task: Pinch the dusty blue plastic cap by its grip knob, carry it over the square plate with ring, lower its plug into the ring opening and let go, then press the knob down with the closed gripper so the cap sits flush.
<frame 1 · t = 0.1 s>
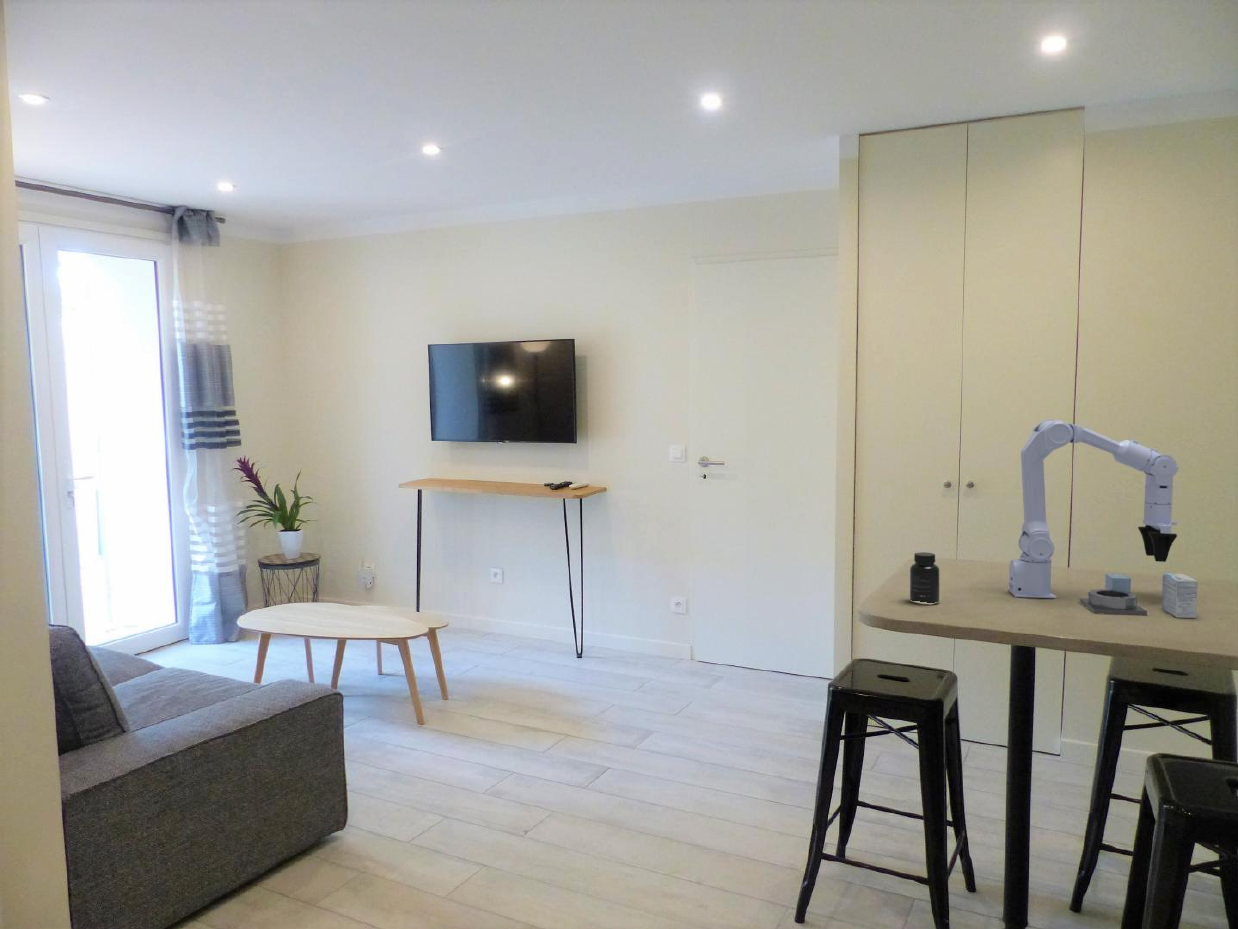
hand: (1155, 558, 213), 10 cm above the table, tool pointing down, fingers open, 7 cm apart
blue cap: (1117, 600, 213), on the table
square plate with ring: (1112, 608, 205), on the table
supplement bottle: (924, 603, 213), on the table
medicine box: (1178, 615, 199), on the table
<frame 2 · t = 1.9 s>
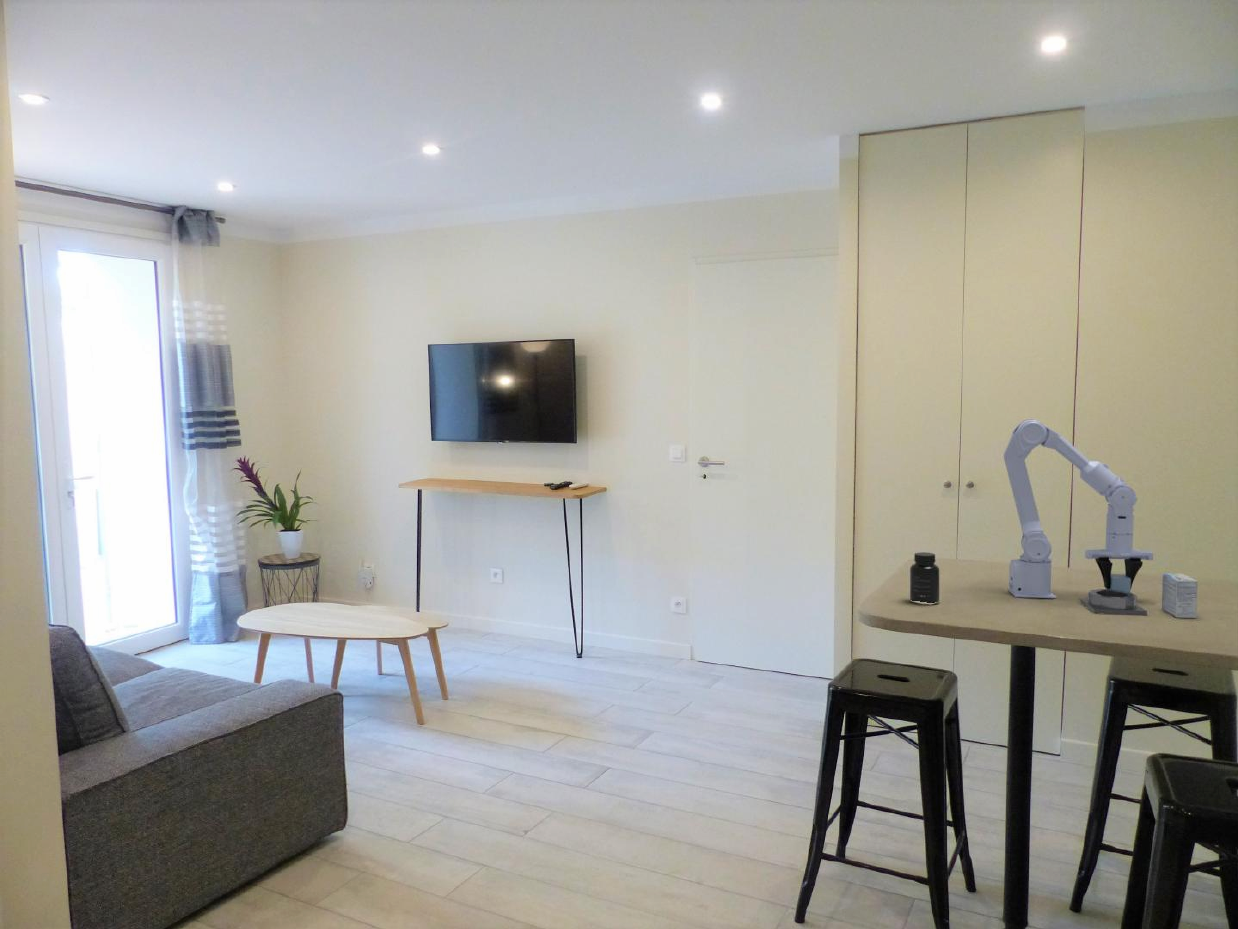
hand: (1117, 588, 212), 3 cm above the table, tool pointing down, fingers closed on blue cap, 4 cm apart
blue cap: (1117, 600, 213), on the table, touching gripper
everything else where it was.
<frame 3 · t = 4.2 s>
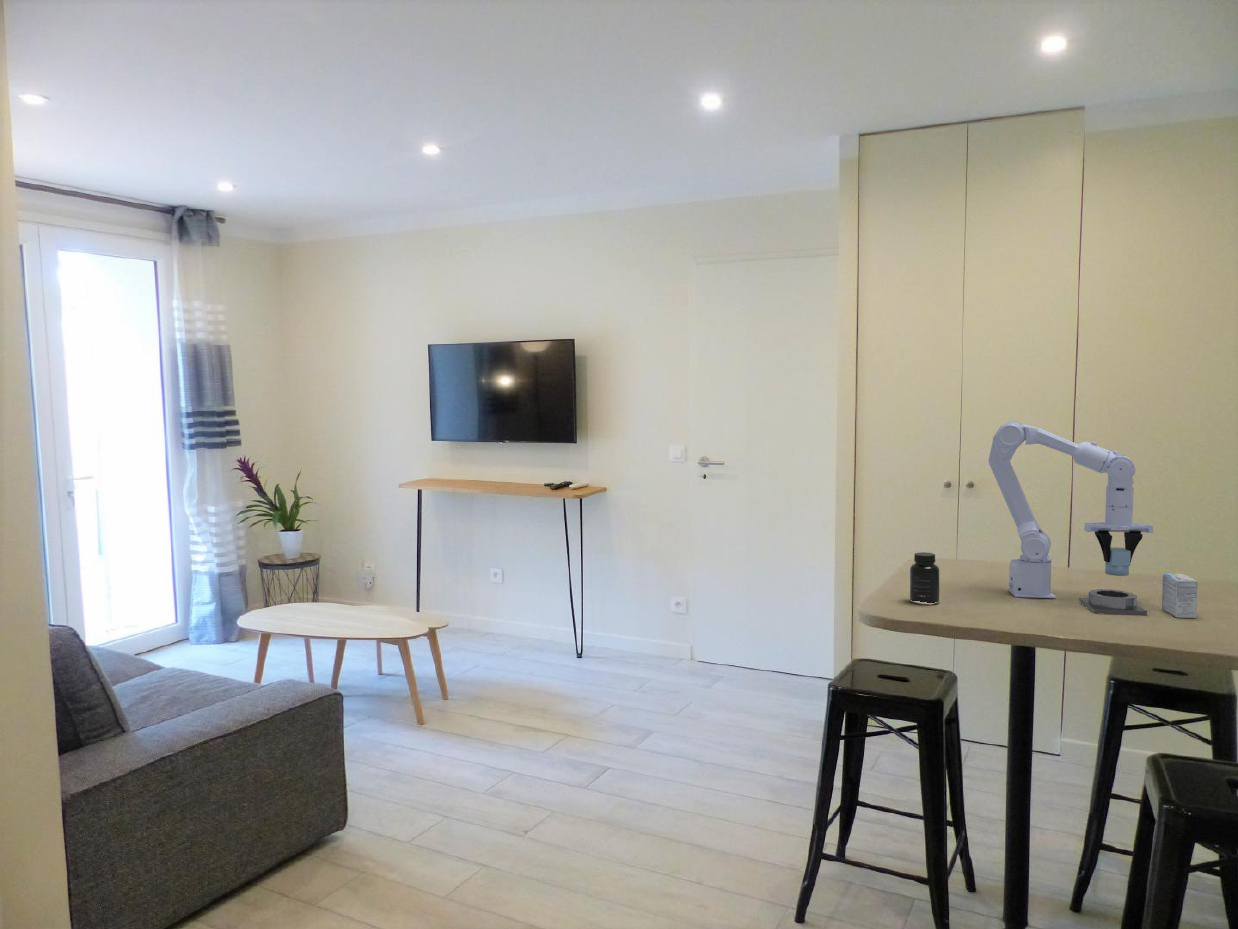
hand: (1117, 561, 210), 10 cm above the table, tool pointing down, fingers closed on blue cap, 4 cm apart
blue cap: (1116, 573, 210), point 7 cm above the table, touching gripper
everything else where it was.
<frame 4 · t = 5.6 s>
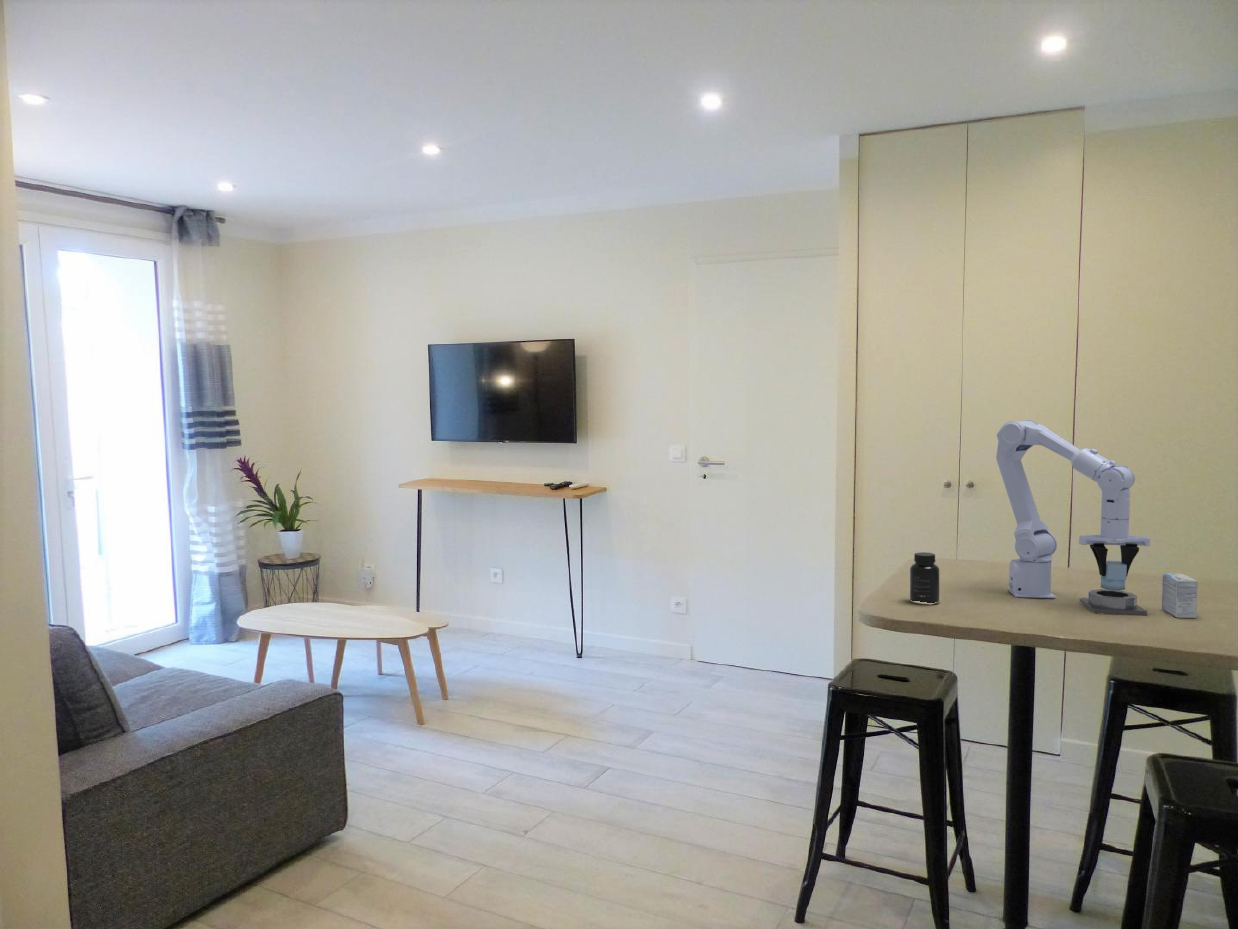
hand: (1113, 575, 204), 8 cm above the table, tool pointing down, fingers closed on blue cap, 4 cm apart
blue cap: (1112, 588, 204), point 5 cm above the table, touching gripper
everything else where it was.
when the fingers open (5 cm above the table, at t = 6.6 s): blue cap stays where it is, resting on square plate with ring.
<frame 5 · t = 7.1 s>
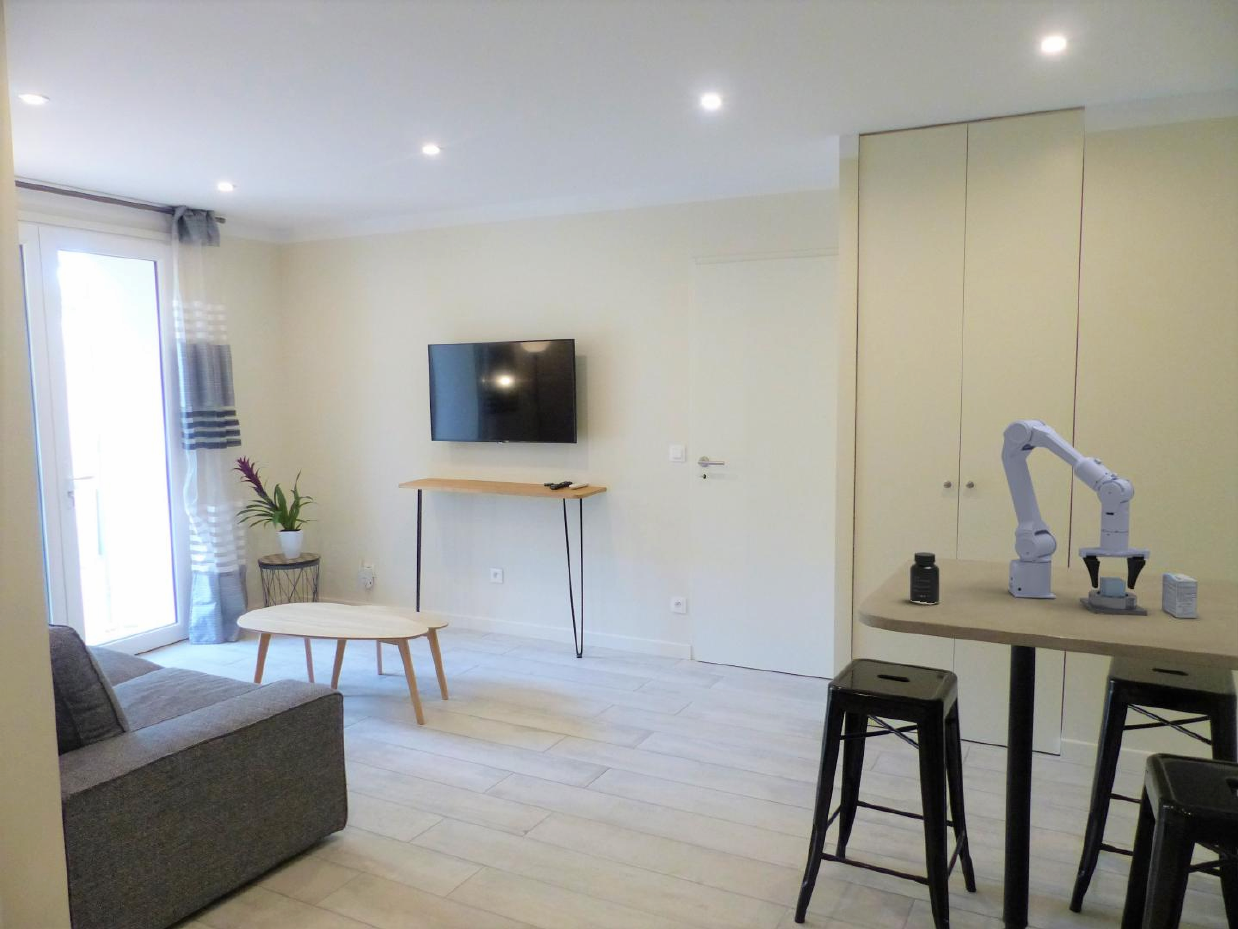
hand: (1112, 588, 204), 5 cm above the table, tool pointing down, fingers open, 7 cm apart
blue cap: (1111, 604, 205), point 1 cm above the table, touching square plate with ring
everything else where it was.
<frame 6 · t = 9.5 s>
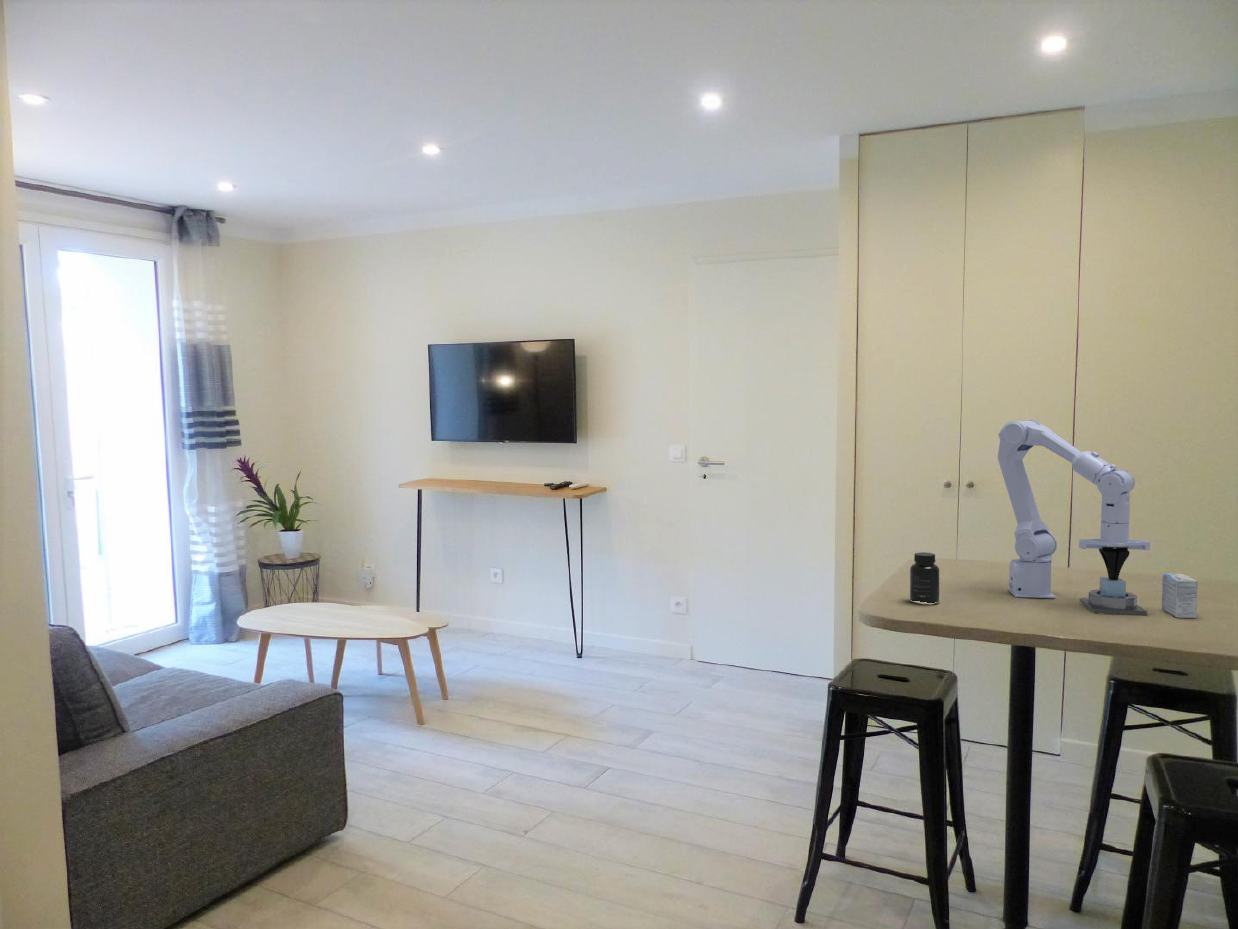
hand: (1113, 579, 204), 7 cm above the table, tool pointing down, fingers closed, pressing on blue cap
blue cap: (1111, 604, 205), point 1 cm above the table, touching gripper, square plate with ring
everything else where it was.
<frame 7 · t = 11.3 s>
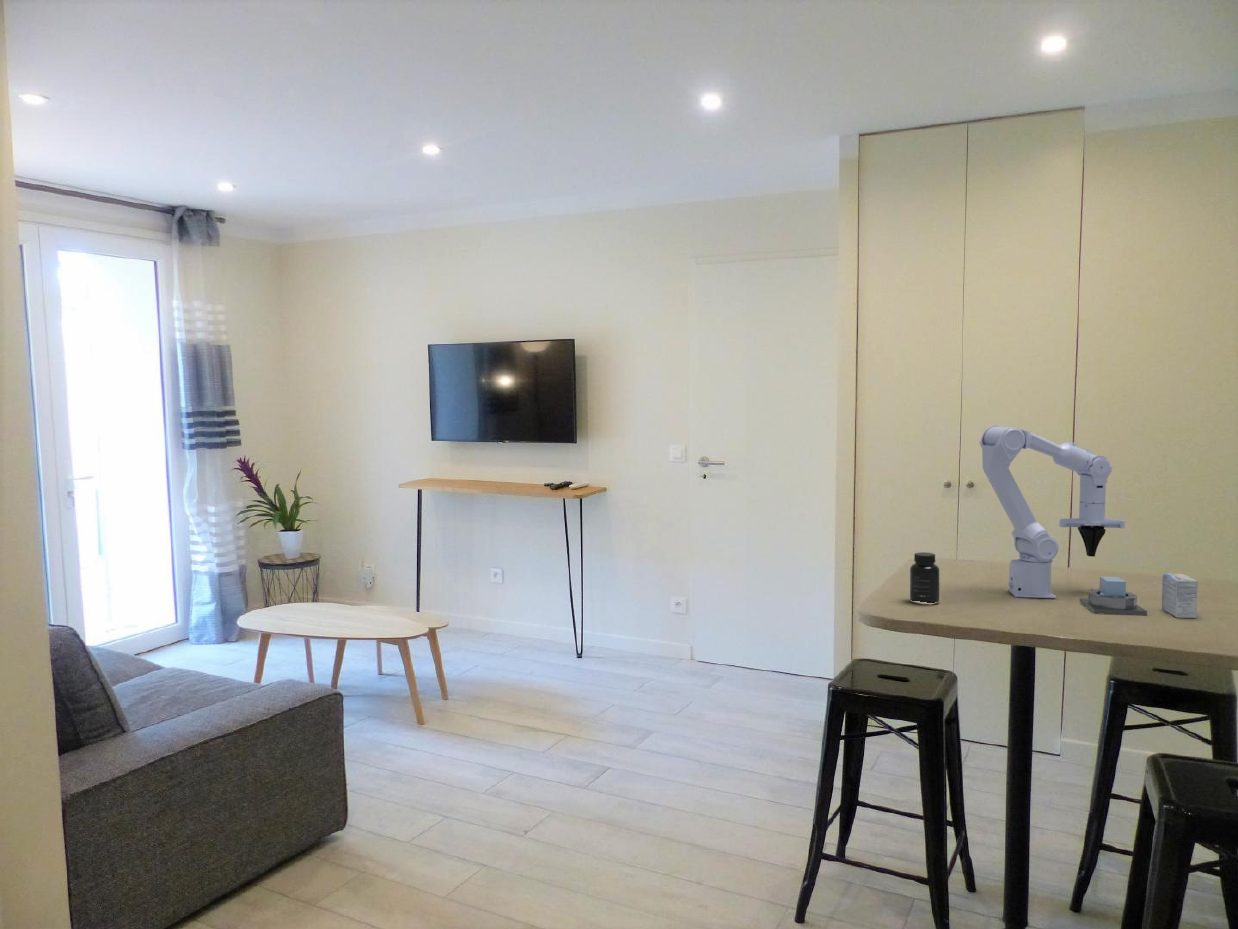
hand: (1090, 555, 220), 9 cm above the table, tool pointing down, fingers closed
blue cap: (1111, 604, 205), point 1 cm above the table, touching square plate with ring
everything else where it was.
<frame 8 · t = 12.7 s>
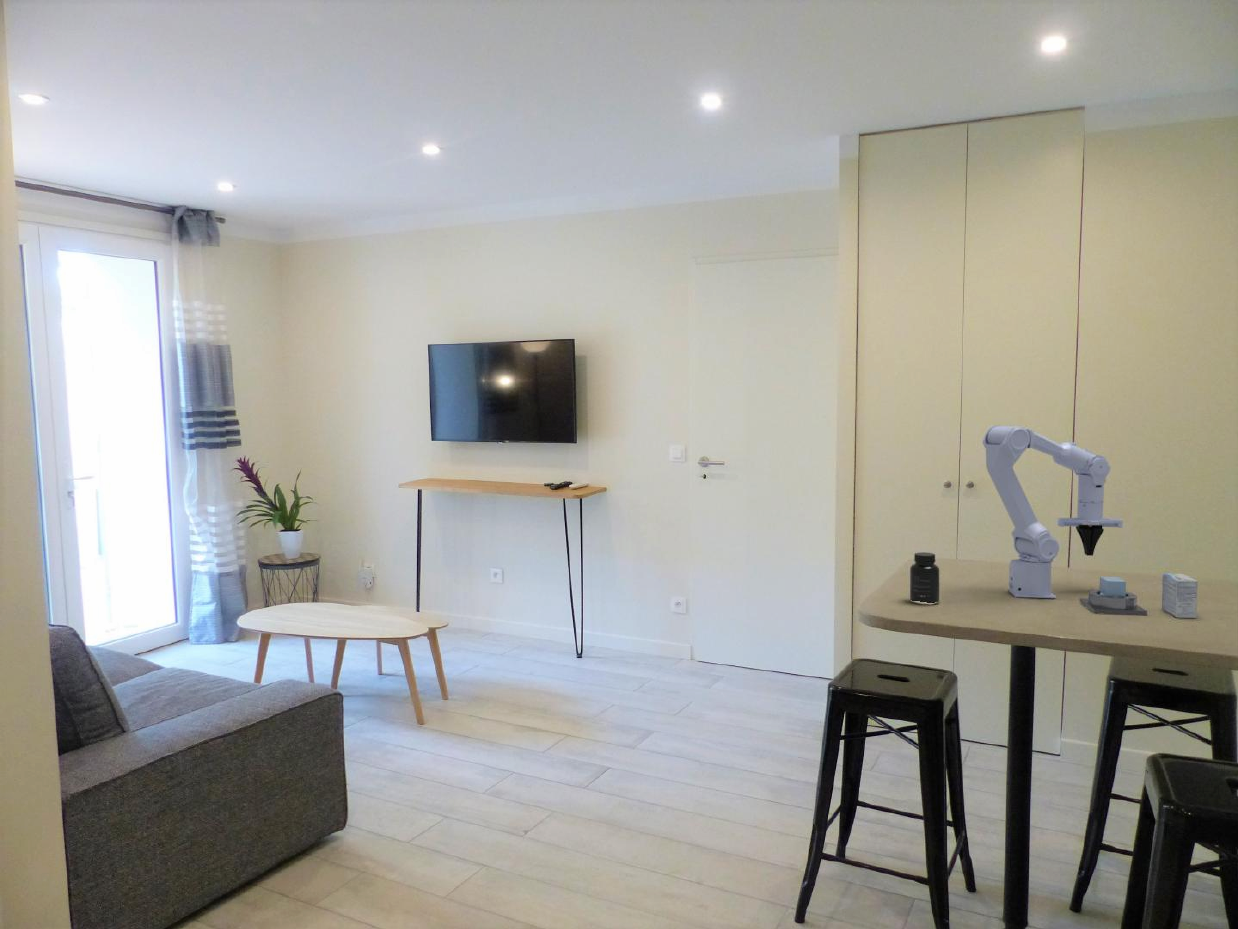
hand: (1088, 554, 221), 9 cm above the table, tool pointing down, fingers closed
nothing on the table moved.
at the end: blue cap 0.0 cm off-centre on the square plate with ring, point 1.0 cm above the square plate with ring's base; blue cap tilted 0°; the gripper is holding nothing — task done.
